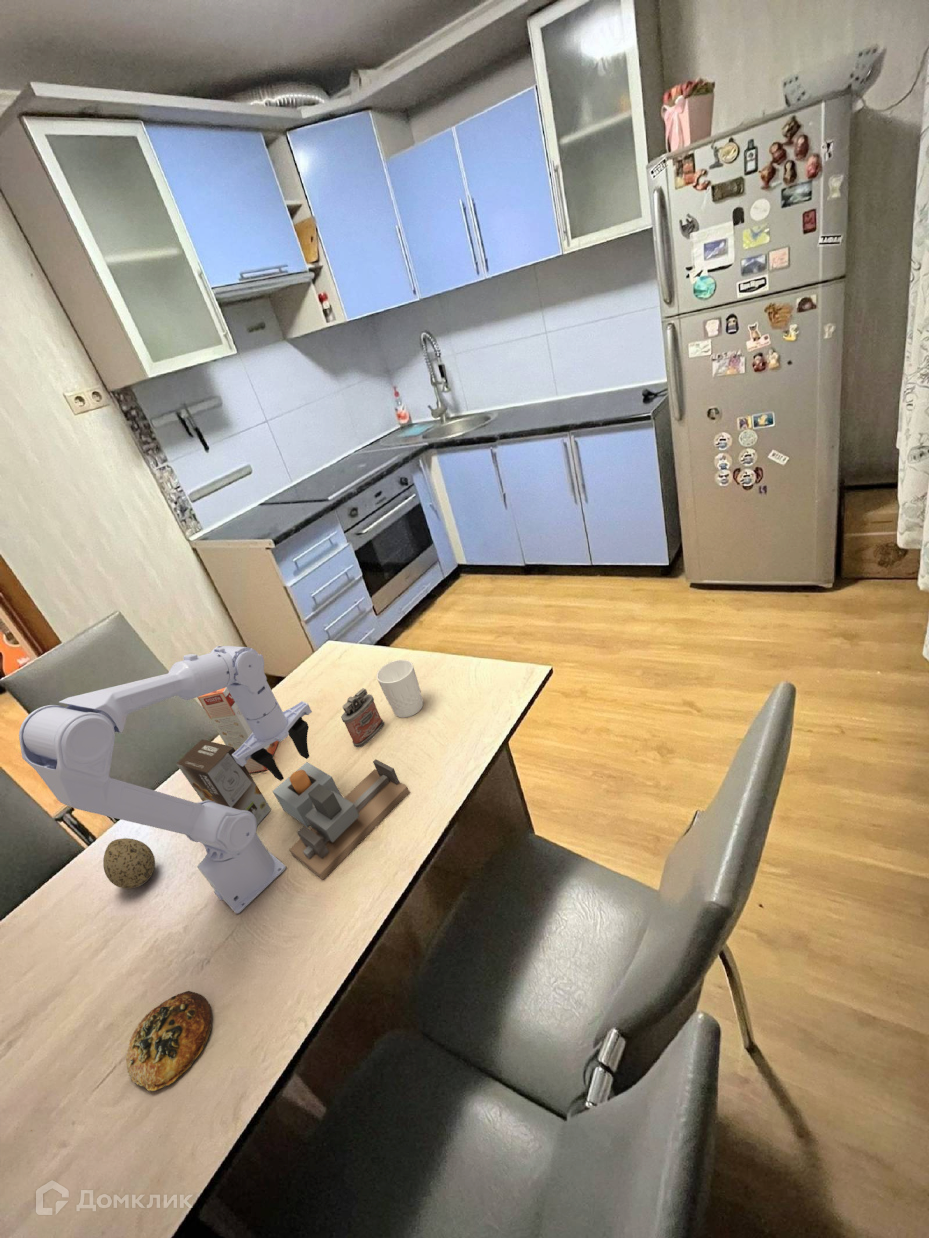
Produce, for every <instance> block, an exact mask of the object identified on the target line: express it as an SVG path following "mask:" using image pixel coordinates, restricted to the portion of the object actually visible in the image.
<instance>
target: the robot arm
mask: <svg viewBox="0 0 929 1238" xmlns="http://www.w3.org/2000/svg"><path fill="white" fill-rule="evenodd" d="M267 680H268V678H267V676H266V674H265V659H264V656H263V654H259V653H258V651H256V649H254V648H251V647H246V646H237V645H236V646H235V645H217V646H216V647H213V649H212V650H211V651H210V652H208V653H205V654H202V655H198V654H195V653H194V654H193V653H189V654H185V655H183V660H179V661H176V662H175V663H174V664H172V666H171V667H170V669H169V671H168V673H163V674H160V675H157V676H152V677H148V678H144V679H139V680H136V681H131V682H127V683H124V684H119V685H116V686H115V685H114V686H111V687H107V688H106V687H105V688H102V689H98V690H95V691H90V692H86V693H82V694H78V695H73V696H69V697H66V698H64V699H62V700H60V701H58V703H59V704H65V705H67V706H66V707H65V706H62V705H57V704H49V705H44V706H41V707H38V708H37V709H35V710H33V711H31V712H30V713H29V714H28V715H27V716H26V717H25V718H24V719H23V721H22V723H21V725H20V728H19V731H18V732H19V733H18V739H19V740H18V741H19V746H20V752H21V753H20V754H21V757H22V759H23V761H25V762H26V763H27V764H28V765H29V766H30V767H31V768H32V769H33V770H34V771H35V772H36V773H37V775H38V776H39V777H40V778H41V779H42V781H43V782H44V784H45V785H46V786H47V788H48V789H49V790H50V791H51V792H52V794H53V796H54V798H56V799H57V801H59V803H61V804H62V805H64V806H68V807H71V808H73V809H76V810H79V811H83V812H87V813H92V814H96V815H100V816H105V817H110V818H113V819H117V820H121V821H126V822H130V823H134V824H139V825H142V826H147V827H152V828H156V829H158V830H159V829H160V830H164V831H169V832H172V833H178V834H181V835H185V836H186V837H187V839H188V840H190V841H191V842H193V843H194V842H195V843H200V844H202V845H203V846H204V849H205V852H206V855H205V856H204V858H203V859H202V860H201V861H200V862H199V863H198V865H197V866H196V867H197V868H198V870H199V872H200V873H201V874H202V875H203V877H204V878H205V879H206V881H207V883H208V884H209V885H210V886H211V887H212V889H214V891H213V892H214V894H215V895H216V896H217V898H218V899H219V900H220V901H222V900H223V901H224V903H225V904H227V906H228V907H230V908H231V910H232V911H234V913H235V914H237V915H238V914H240V913H241V912H242V911H243V910H244V909H246V907H247V906H248V905H249V904H250V903H252V901H253V900H255V899H256V897H258V896H259V895H260V894H261V893H262V892H263V891H264V890H265V889H266V888H267V887H268V886H270V884H272V883H273V881H275V879H277V877H279V875H281V874H282V873H283V872H284V871H285V870H286V868H287V867H286V864H284V863H283V862H282V861H281V860H280V859H278V858H277V857H276V856H274V854H273V853H272V852H270V851H269V850H268V849H267V847H266V846H265V844H264V842H263V841H262V839H261V838H260V837H259V835H258V834H257V828H258V827H257V826H258V825H257V822H256V818H255V816H254V815H253V814H252V813H251V812H249V811H245V810H238V809H235V808H231V807H228V806H224V805H220V804H217V803H215V802H213V801H210V800H206V801H202V800H201V801H199V802H194V801H192V800H191V801H190V800H187V799H183V798H180V797H177V796H174V795H170V794H167V793H163V792H160V791H157V790H154V789H150V788H147V787H143V786H140V785H137V784H133V783H130V782H127V781H123V780H120V779H116V778H113V777H111V776H110V771H111V765H112V760H113V759H112V758H113V752H114V747H115V746H114V745H115V739H116V738H115V737H116V735H115V734H116V733H118V734H121V733H122V732H124V730H125V726H126V722H127V718H128V715H130V714H132V713H134V712H138V711H140V710H142V709H144V708H147V707H150V706H153V705H156V704H158V703H160V702H162V701H163V702H164V701H165V700H168V699H171V698H174V697H176V696H177V697H178V698H180V699H181V700H185V701H190V700H193V699H196V698H197V697H199V696H202V695H205V694H208V693H211V692H214V691H217V690H220V689H222V688H225V687H227V689H228V691H229V692H230V694H231V696H232V698H233V699H234V701H235V703H236V704H237V706H238V708H239V710H240V711H241V713H242V715H243V717H244V719H245V720H246V722H247V724H248V725H249V727H250V729H251V731H252V732H253V733H252V734H251V735H250V736H249V738H248V739H247V740H246V741H245V742H244V743H243V744H242V746H241V747H240V748H239V749H238V750H237V751H235V752H234V753H233V754H232V756H233V758H234V759H235V761H236V763H238V764H239V765H240V766H242V767H243V766H244V765H245V764H247V760H248V759H249V758H251V759H253V760H254V761H256V762H257V763H259V764H261V765H262V766H264V767H266V768H267V771H269V773H271V774H272V775H273V777H274V778H275V779H277V780H278V781H280V782H281V781H283V780H284V779H285V777H284V775H283V774H282V772H281V771H280V769H279V768H278V766H277V763H276V762H275V759H274V754H273V755H272V754H270V753H269V752H267V750H266V749H264V747H266V746H268V745H269V744H271V743H273V742H275V741H279V742H282V741H284V740H285V739H286V738H287V737H288V736H289V737H290V739H291V741H292V742H293V745H294V747H295V748H296V750H297V752H298V754H299V756H301V757H302V758H304V759H306V760H307V759H309V758H310V752H309V747H308V732H309V727H310V726H309V724H308V722H307V721H305V720H303V717H304V716H309V715H310V714H311V713H313V711H312V709H311V707H310V705H309V703H307V702H306V701H303V700H301V701H300V702H298V703H297V704H295V705H293V706H292V707H290V708H287V709H286V710H284V711H283V709H282V708H281V706H280V704H279V702H278V699H277V698H276V695H274V693H273V691H272V689H271V687H270V685H269V683H268V681H267Z"/></svg>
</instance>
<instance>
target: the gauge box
mask: <svg viewBox="0 0 929 1238" xmlns="http://www.w3.org/2000/svg"><path fill="white" fill-rule="evenodd" d="M298 770H304V771H305V772H306V774H307V776H308V777H309V779H310V781H311V783H312V785H311V786H310V787H309V788H308V789H306V790H305V791H304V792H303V793H302V794H301V795H300V796H299V795H298V794H297V793H296V791H295V789H294V787H293V785H292V784H291V782H290V776H288V777H287V778H286V779H285V780H284V781H282V782H281V783H280V784H279V785H278V786H277V787H276V788H274V789H273V790H272V794H274V796H275V798H276V800H277V802H278V803H279V805H280V807H281V809H282V810H283V811H285V812H286V813H287V814H289V816H291V817H292V818H294V819H295V820H297V821H298V822H299V823H300V824H302V826H306V827H307V828H308V827H309V826H310V824H309V822H308V820H307V819H306V817H305V815H306V814H307V813H308V812H309V811H311V810H312V809H313V808H314V807H315V806H314V804H313V803H312V801H311V799H310V797H309V795H308V793H309V792H310V791H312V790H313V789H314V788H315V787H316V786H317V785H318V784H320V785H322V786H323V787H325V788H327V789H328V790H330V791H334V792H335V793H337V794H339V795H340V796H342V794H341V792H340V789H339V788H338V786H337V784H336V782H335V780H334V778H333V776H331V775H330V774H328V773H326V772H325V771H323V770H322V769H320V768H318V767H316V765H315V766H314V765H313V764H311V763H310V762H309V761H308V762H307V761H306V762H305V763H304V764H302V766H300V767H299V768H298V769H297V770H296V771H298Z"/></svg>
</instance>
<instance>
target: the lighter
mask: <svg viewBox="0 0 929 1238" xmlns="http://www.w3.org/2000/svg"><path fill="white" fill-rule="evenodd" d="M374 700H375V698H374V695H372V694H368V691H367V689H366V688H363V687H362V688H361V689H360V690H358V691H357V692H356V693H355V694H354V695H353V696H349V697H348V698H347V700H346V702H345V704H343V705H342V709H343V711H344V712H343V713H342V714H341V716H340V719H341V720H342V722H343V723H344V725H345V727H346V730H347V732H348V733H349V735H350V738H351V740H352V745H353V746H354V747H355V748H362V747H364V746H365V745H366V744H368V743H369V742H370V741H371V740H373V738H375V737H376V736H377V735H378V733H379V732H381V730H382V729H383V727H384V725H385V722H384V719H382V717H381V715H380V712H379V709H378V708H377V706H376V704H375V701H374Z"/></svg>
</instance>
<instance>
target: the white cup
mask: <svg viewBox="0 0 929 1238" xmlns="http://www.w3.org/2000/svg"><path fill="white" fill-rule="evenodd" d="M415 671H416V670H415V667H414V663H412V662H411V661H410V660H409V659H408V660H407V659H402V658H401V659H396V660H393V661H390V662H388V663H386V664H384V665H382V666H381V667H380V668H379V669H378V670H377V672H376V679H377V682H378V684H379V686H380V688H381V690H382V692H383V695H384V696H385V699H386V701H387V702H388V705H389V706H390V707H391V709H392V712H393V714H394V716H396V717H398V718H409V717H413V716H414V715H416V714H418V713H419V712H420V711H421V710H422V708H423V706H424V700H423V697H422V694H421V688H420V685H419V680H418V677H417V674H416V672H415Z"/></svg>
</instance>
